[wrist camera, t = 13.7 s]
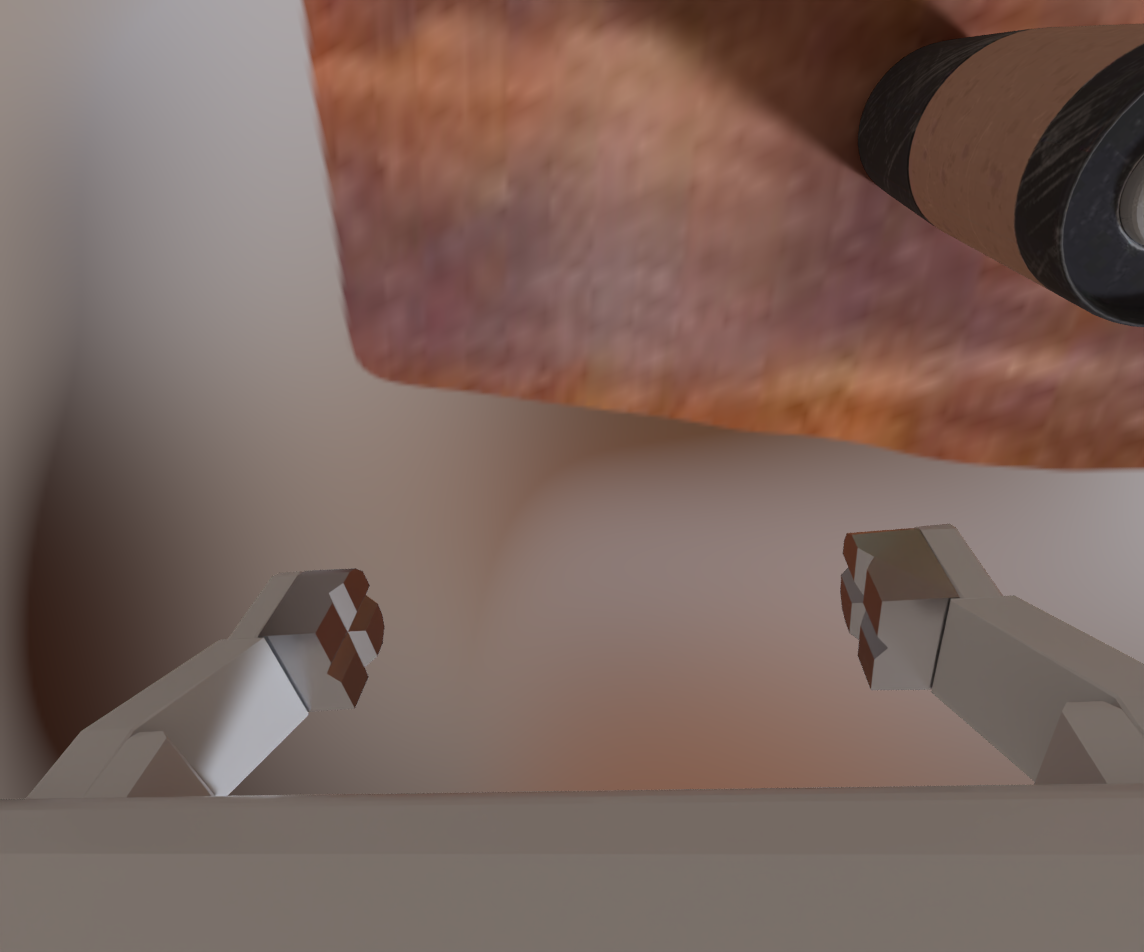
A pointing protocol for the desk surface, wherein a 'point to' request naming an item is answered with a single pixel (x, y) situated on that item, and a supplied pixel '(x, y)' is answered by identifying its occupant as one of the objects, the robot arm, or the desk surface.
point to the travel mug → (1025, 154)
